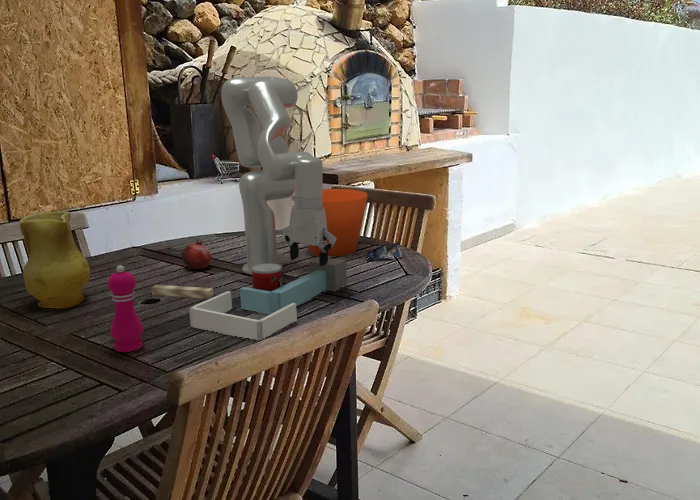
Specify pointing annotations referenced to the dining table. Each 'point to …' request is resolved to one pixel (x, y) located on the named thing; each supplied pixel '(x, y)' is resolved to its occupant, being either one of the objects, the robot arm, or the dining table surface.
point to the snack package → (384, 252)
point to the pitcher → (53, 260)
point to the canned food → (267, 277)
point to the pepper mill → (124, 312)
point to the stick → (182, 291)
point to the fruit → (196, 256)
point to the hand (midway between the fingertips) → (308, 261)
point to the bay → (238, 319)
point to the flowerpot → (342, 219)
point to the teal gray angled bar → (296, 288)
